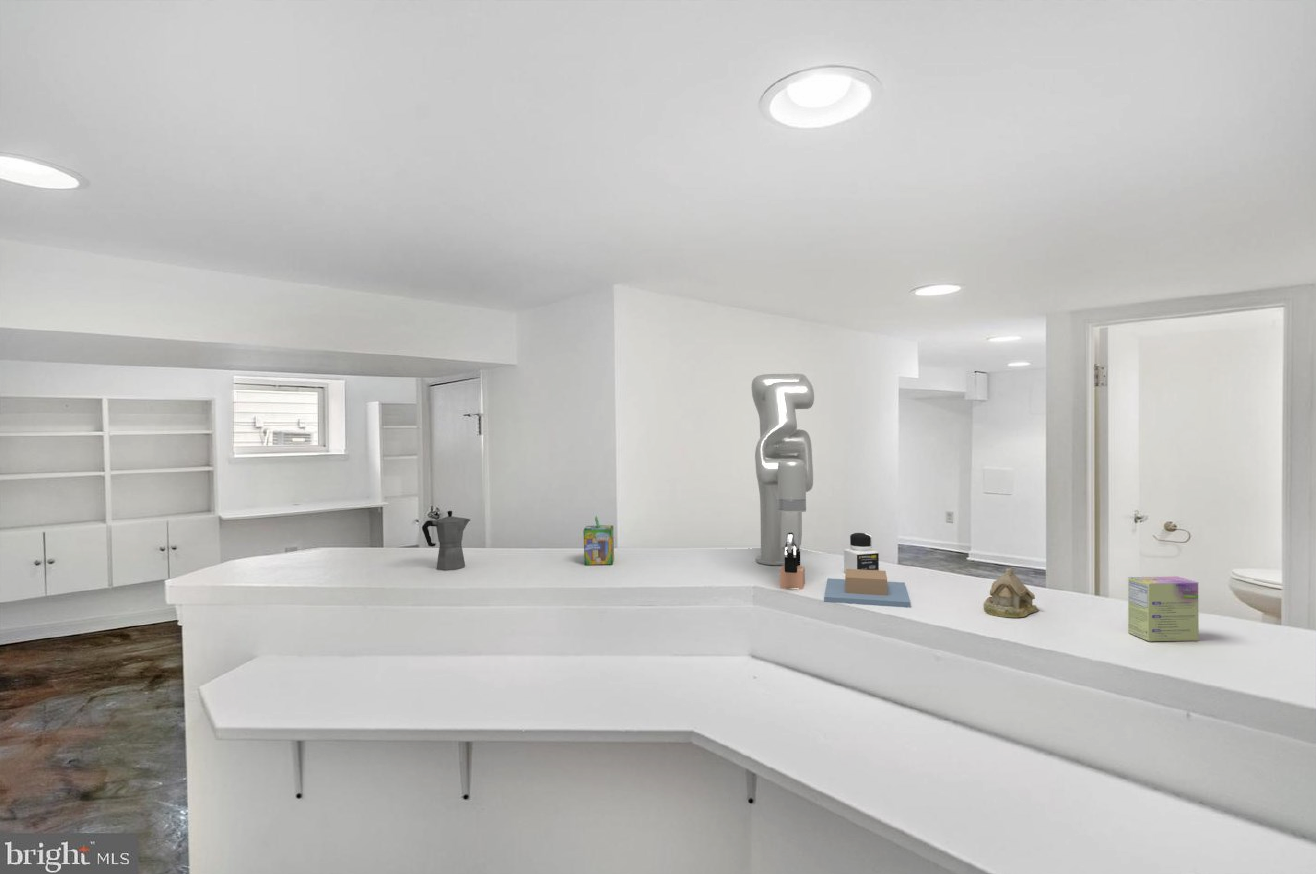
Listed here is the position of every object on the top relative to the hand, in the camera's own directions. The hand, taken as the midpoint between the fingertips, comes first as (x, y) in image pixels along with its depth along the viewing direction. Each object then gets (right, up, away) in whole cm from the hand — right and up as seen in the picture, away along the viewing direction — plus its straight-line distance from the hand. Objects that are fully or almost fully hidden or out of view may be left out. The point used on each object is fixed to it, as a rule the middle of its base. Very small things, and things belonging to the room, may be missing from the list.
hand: (792, 569), depth 176 cm
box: (+66, -5, -44) cm, 80 cm away
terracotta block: (0, -5, +1) cm, 5 cm away
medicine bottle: (+23, -5, +13) cm, 26 cm away
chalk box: (-55, -5, +35) cm, 66 cm away
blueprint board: (+17, -5, -9) cm, 20 cm away
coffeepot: (-103, -6, +29) cm, 107 cm away
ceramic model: (+45, -5, -24) cm, 52 cm away
